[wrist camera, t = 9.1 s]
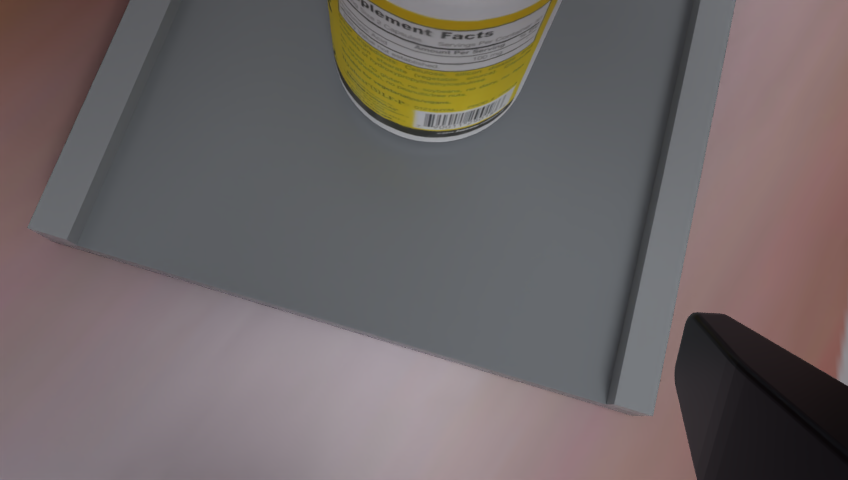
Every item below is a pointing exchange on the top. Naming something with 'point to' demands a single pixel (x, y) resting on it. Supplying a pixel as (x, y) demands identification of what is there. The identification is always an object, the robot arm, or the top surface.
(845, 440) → the robot arm
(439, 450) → the top surface
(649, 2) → the gray tray
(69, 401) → the top surface
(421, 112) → the supplement bottle
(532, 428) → the top surface
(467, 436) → the top surface
